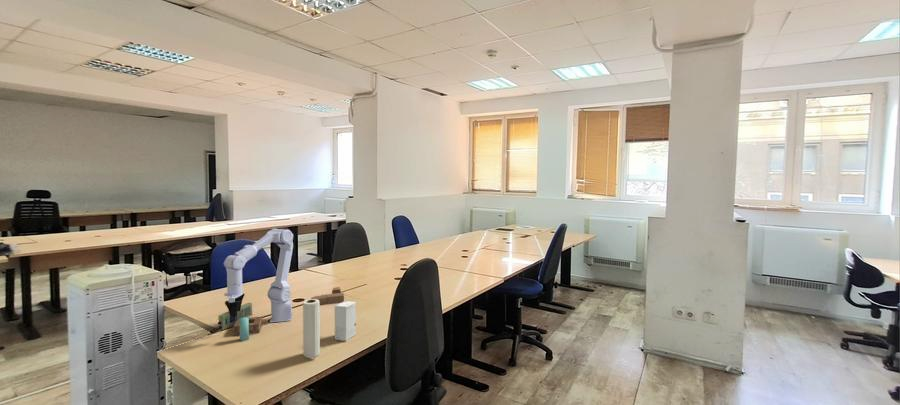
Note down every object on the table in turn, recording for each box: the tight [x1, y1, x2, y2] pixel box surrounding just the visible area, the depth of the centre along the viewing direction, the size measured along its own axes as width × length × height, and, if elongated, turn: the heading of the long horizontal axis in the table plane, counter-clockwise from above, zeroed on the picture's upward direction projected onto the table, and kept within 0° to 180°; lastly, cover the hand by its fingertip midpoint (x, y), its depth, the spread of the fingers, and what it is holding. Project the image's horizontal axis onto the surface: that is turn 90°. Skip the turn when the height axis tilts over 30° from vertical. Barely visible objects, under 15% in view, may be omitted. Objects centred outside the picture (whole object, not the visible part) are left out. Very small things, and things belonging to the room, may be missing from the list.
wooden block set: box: [310, 286, 345, 306], centre depth 220 cm, size 17×6×18 cm
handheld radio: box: [209, 302, 253, 334], centre depth 182 cm, size 7×3×25 cm
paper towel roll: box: [302, 298, 321, 360], centre depth 151 cm, size 7×6×21 cm
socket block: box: [233, 316, 263, 337], centre depth 175 cm, size 10×10×4 cm
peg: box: [239, 317, 250, 342], centre depth 165 cm, size 3×3×9 cm
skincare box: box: [334, 300, 357, 342], centre depth 169 cm, size 8×6×15 cm
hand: (235, 313), depth 169 cm, fingers open, 7 cm apart
